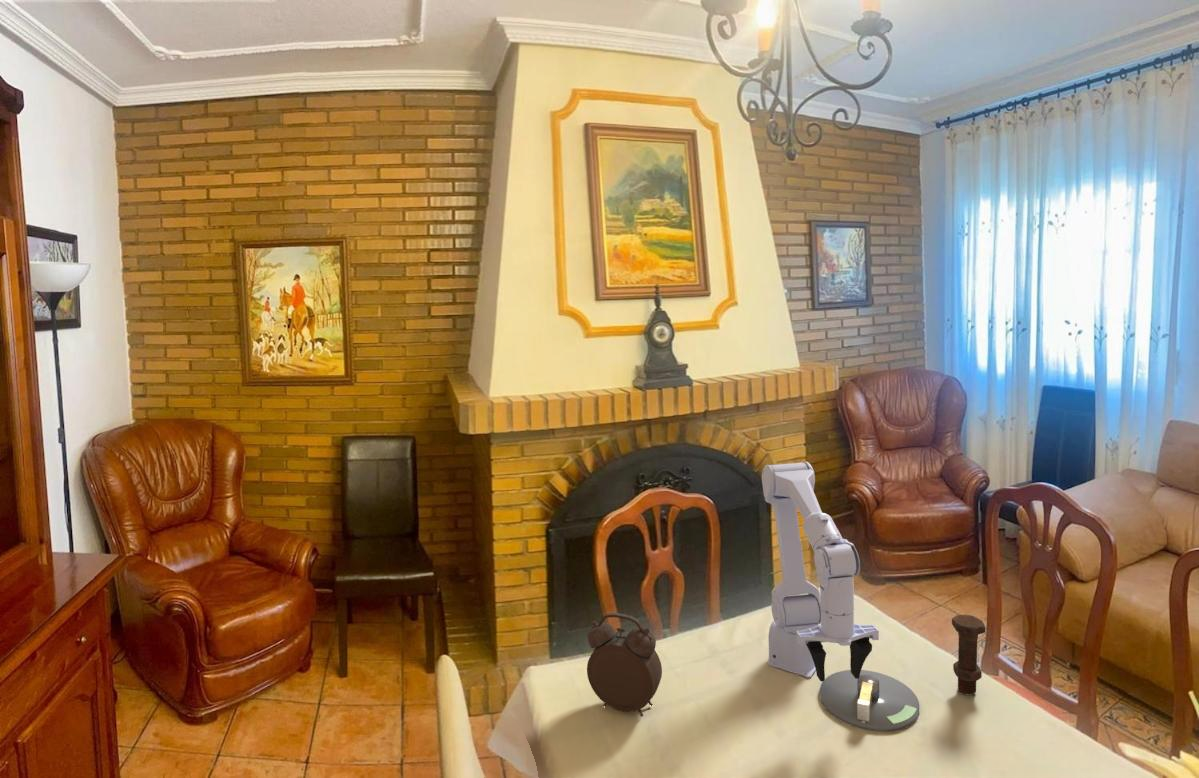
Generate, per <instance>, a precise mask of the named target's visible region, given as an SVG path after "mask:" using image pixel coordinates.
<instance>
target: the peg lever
mask: <svg viewBox="0 0 1199 778" xmlns="http://www.w3.org/2000/svg"><path fill="white" fill-rule="evenodd" d="M857 694H858V696H859V699H858V702H857V719H860V720H864V721H868V722H869V719H870V711H871V705H872V701H876V700H878V699H879V680H878V679H877V678H876V677H874V676H871V675H861V676H859V678H857Z"/></svg>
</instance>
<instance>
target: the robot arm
mask: <svg viewBox="0 0 1199 778" xmlns="http://www.w3.org/2000/svg"><path fill="white" fill-rule="evenodd" d="M815 483H816V475H815V470H814V468H813V466H812V465H811V464H810V462H808V461H803V462H796V463H795V462H793V463H780V464H771V465H770V464H765V466H764V467H763V469H762V471H761V484H762V492H763V497H764V501H765V502H766V503H768V504H771V505H772V510H773V513H774V521H775V528H776V529H775V530H776V536H777V545H778V552H779V560H780V568H781V574H782V580H781V581H780V582H779V583H778V584H777V585H776V586H775V587H774V588H772V591H771V606H770V607H771V614H772V619H773V620H772V622H771V623H770V626H769V631H768V661H767V665H768V666H771V667H774V668H776V669H777V668H778V669H780V670H783V671H787V672H790V673H793V674H796V675H798V676H802V677H806V678H808V679H809V678H811V677H812V676H813V674H814V673H815V672H816V677H817V678H818V680H819V681H820V682H823V681H824V680H825V679H826V678H825V677H826V675H825V674H826V673H825V662H826V655H827V651H825V649H824V645H823V644H822V643H833V644H838V645H840V646H841V647H844V646H849V650H850V651H849V653H850V660H849V662H850V664H849V665H850V666H849V667H850V670H851V673H852V674H853V676H854V677H855V679H857V678H859V676H860V672H861V670H863V666H864V663H865V661H866V659H868V656H869V655H870V653H871V652H872V651H873V645H872V643H871V642H870V639H871V640H872V641H879V640H880V639H879V636H880V634H879V632H880V631H879V629H878V628H877V627H876V626H875V625H874V624H858V623H857V624H856V623H855V615H854V614H855V612H854V611H855V605H854V604H855V602H854V601H855V598H854V597H855V596H854V593H855V592H854V590H855V589H854V588H855V587H854V586H855V585H854V582H855V581H854V576H857V575H859V573H860V570H861V560H860V556H859V553H858V551H857V549H856V547H855V545H854V543H852V542H850V541H849V540H848V539H846V538H843V537H842V534H841V533H840V531H839V529H838V527H837V526H836V524H835V522H834V520H833V518H832V517H831V515H829V514H827V513H825V512H823V511H822V509H821V506H820V504H819V501H818V499H817V496H816V494H815V491H814V490H815ZM797 510H798V511H799V513H800V515H801V516H802V518H803V520H804V521H803V523H802V529H803V532H804V535H805V536H806V538H807V540H808V542H809V543H810V547H811V548H812V550H813V552H814V555H813V559H814V560H813V561H814V565H815V569H816V579H817V583H818V584H819V586H820V587H817V586H816V585H814V584H813V583H812V582H810V581H808V580H807V577H806V568H805V563H804V555H803V548H802V547H803V546H802V540H801V533H800V526H799V518H798V512H797ZM819 588H820V591H819Z"/></svg>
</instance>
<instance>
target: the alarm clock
mask: <svg viewBox="0 0 1199 778" xmlns="http://www.w3.org/2000/svg"><path fill="white" fill-rule="evenodd" d="M608 618H618V619H624V620H626V621H627V620H628V621H630V622H632V623H635V625H636V626H637V627H634V628H633V629H632V630H630V631H626V629H625V628H622V627H617V628H616V629H615V627H613V625H612V624H610V623H609V622H606V621H605V620H606V619H608ZM591 625H592V626H591V628H590V629H589V631H588V633H587V641H588V642H587V643H588V644H589V647H590V649H594V650H593V652H592V653H591V654H590V655H589V658H588V661H587V666H586V674H587V679H588V682H589V684H590V686H591V689H592V691H593V692H594V693H595V695H596V696H597V697H598V698H599V700H600V701H601V702H602V703H604V704H602V707H603V706H606V707H607V706H609V707H610V708H612V709H614V710H616V711H619V712H624V713H634V712H638V713H639V715H640V717H641V716H642V717H644V714H643V712H642V709H644V708H645V706H647V704H649V705H651V706H652V705H654V704H653V703H652V701H651V700H652V699H653V697H654V696H655V694H656V692H657V690H658V688H659V685H660V683H661V679H662V674H663V668H662V663H661V659H660V657H659V655H658V653H657V651H656V650H655V649H656V646H657V645H656V643H657V640H656V637H655V635H654V634H653V632H652V631H651V630H650V628H649V627H644V626H643V624H642V623H641V622H640V620H639V619H638V618H636V617H635V616H632V615H630V614H629V615H628V614H625V613H619V612H609V613H606V614H603V616H602V618H601V619H600V621H599V622H597V621H595V620H593V621H591ZM652 707H653V706H652Z"/></svg>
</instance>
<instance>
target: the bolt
mask: <svg viewBox="0 0 1199 778" xmlns="http://www.w3.org/2000/svg"><path fill="white" fill-rule="evenodd" d="M951 625H952V626H953V628H954V630H955V632H957V635H958V650H957V652H958V654H957V661H955V662H954V663H953V664H952V667H953V668H952V669H953V672H954V675H955V676H956V677H957V690H958V691H959V693H961V694H962V693H963V694H962V695H966V694H972V695H974V694H976V693H977V681H979V680H980V679H981V678H982V677H983V676H982V675H983V674H982V670H981V667H980V666H979V665H978V639H979V635H981V634H985V633H986V625H985V623H984V622H983V620H982V619H980V618H978V617H977V616H973V615H970V614H956V615H954V616H953V617H952V618H951Z"/></svg>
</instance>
